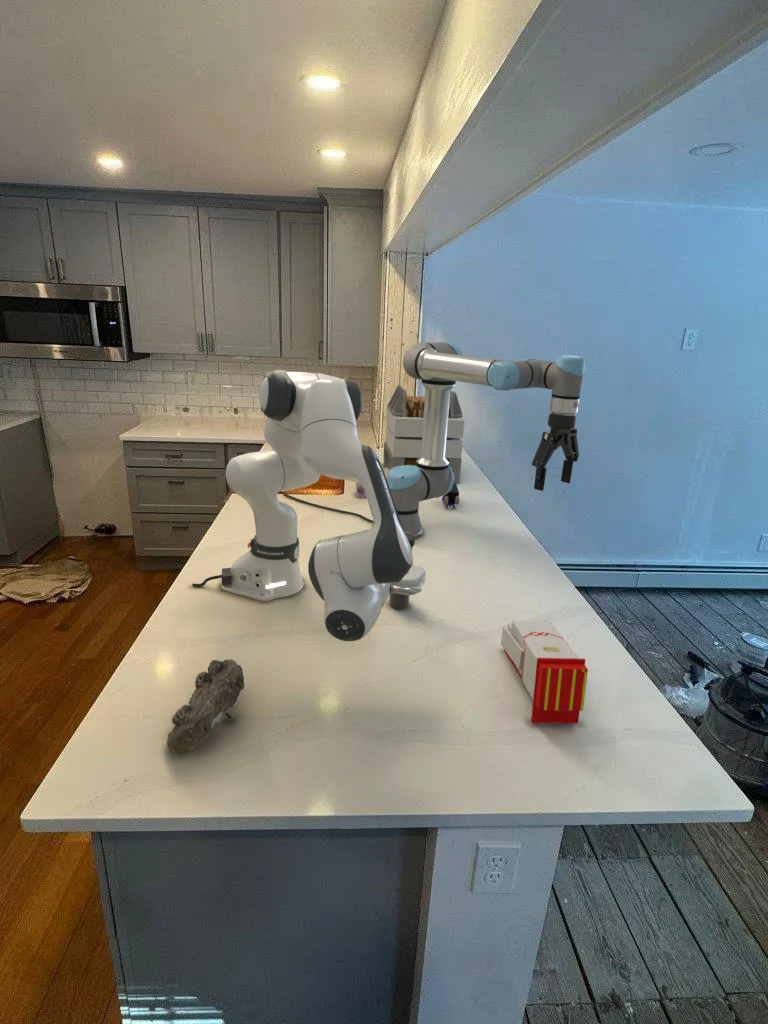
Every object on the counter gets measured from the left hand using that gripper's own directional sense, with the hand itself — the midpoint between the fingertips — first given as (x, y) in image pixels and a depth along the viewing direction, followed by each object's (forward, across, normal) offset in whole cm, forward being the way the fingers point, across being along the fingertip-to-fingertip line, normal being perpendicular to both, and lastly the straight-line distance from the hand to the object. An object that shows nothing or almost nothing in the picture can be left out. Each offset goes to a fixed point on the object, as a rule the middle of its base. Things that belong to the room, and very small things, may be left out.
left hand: (384, 558), depth 124 cm
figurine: (+110, +33, +22) cm, 117 cm away
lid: (+22, 0, +4) cm, 23 cm away
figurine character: (+110, -3, +23) cm, 112 cm away
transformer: (+152, +17, +22) cm, 155 cm away
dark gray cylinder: (+23, 0, +23) cm, 32 cm away
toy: (-2, -35, +24) cm, 42 cm away
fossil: (-31, +26, +23) cm, 46 cm away
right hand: (+55, -38, -5) cm, 67 cm away
